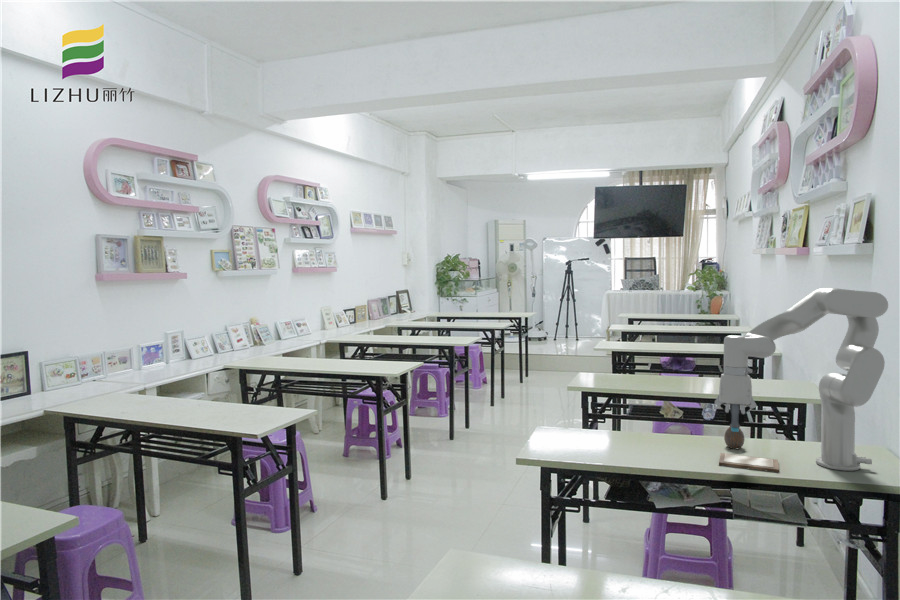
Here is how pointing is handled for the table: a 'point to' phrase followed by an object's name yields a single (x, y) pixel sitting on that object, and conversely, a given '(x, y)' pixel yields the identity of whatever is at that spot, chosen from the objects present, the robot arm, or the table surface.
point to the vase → (734, 438)
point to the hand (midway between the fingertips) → (735, 423)
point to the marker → (735, 417)
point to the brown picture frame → (749, 462)
